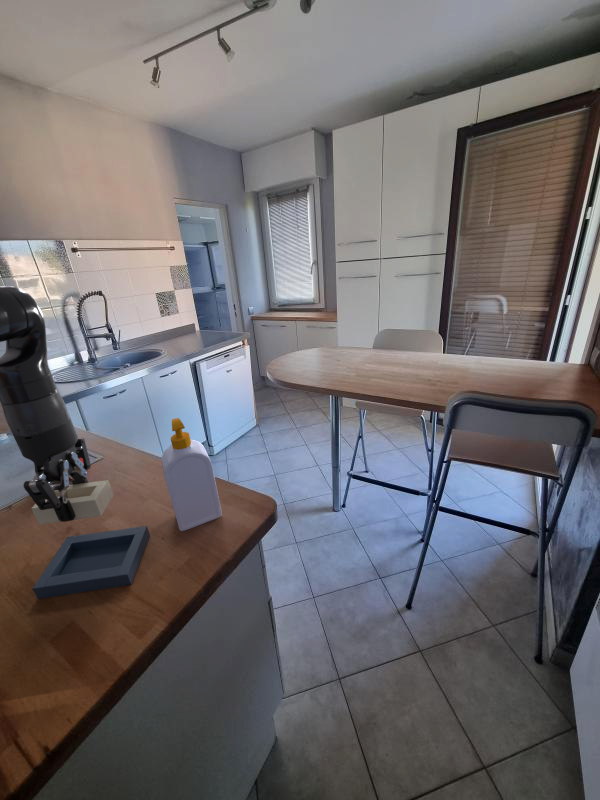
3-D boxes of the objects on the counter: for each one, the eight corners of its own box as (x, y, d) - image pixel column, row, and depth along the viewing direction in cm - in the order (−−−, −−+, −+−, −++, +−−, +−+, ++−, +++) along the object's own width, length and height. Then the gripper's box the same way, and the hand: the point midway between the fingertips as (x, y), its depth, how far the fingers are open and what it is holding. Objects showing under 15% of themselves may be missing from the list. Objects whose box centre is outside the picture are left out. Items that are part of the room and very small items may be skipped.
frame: (39, 524, 56) (31, 508, 54) (56, 503, 61) (49, 487, 59) (101, 516, 57) (94, 499, 55) (113, 495, 62) (108, 479, 60)
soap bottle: (215, 498, 78) (196, 410, 69) (222, 516, 72) (203, 423, 63) (175, 512, 75) (150, 421, 66) (180, 532, 69) (153, 436, 60)
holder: (37, 599, 57) (31, 588, 56) (71, 546, 67) (67, 536, 66) (131, 584, 58) (127, 574, 57) (150, 535, 69) (147, 525, 68)
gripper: (42, 406, 58) (75, 485, 65) (-20, 448, 45) (29, 542, 52) (87, 401, 59) (115, 480, 66) (39, 441, 46) (80, 535, 52)
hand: (77, 507), depth 59 cm, fingers closed on frame, 5 cm apart
